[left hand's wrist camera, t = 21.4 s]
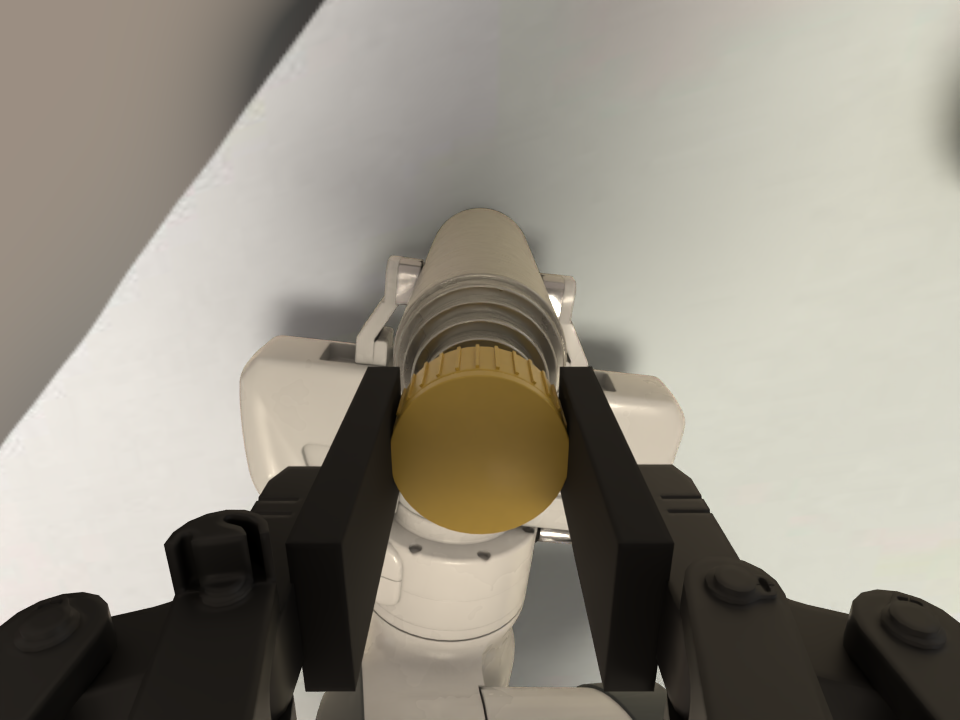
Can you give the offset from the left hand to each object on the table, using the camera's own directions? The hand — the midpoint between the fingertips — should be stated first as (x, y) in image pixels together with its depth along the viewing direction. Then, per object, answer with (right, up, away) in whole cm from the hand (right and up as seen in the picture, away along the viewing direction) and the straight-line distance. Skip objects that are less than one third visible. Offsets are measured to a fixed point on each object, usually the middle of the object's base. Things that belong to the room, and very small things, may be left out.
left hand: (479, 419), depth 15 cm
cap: (0, -1, -2) cm, 2 cm away
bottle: (0, +7, +18) cm, 20 cm away
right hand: (0, +5, +12) cm, 13 cm away
